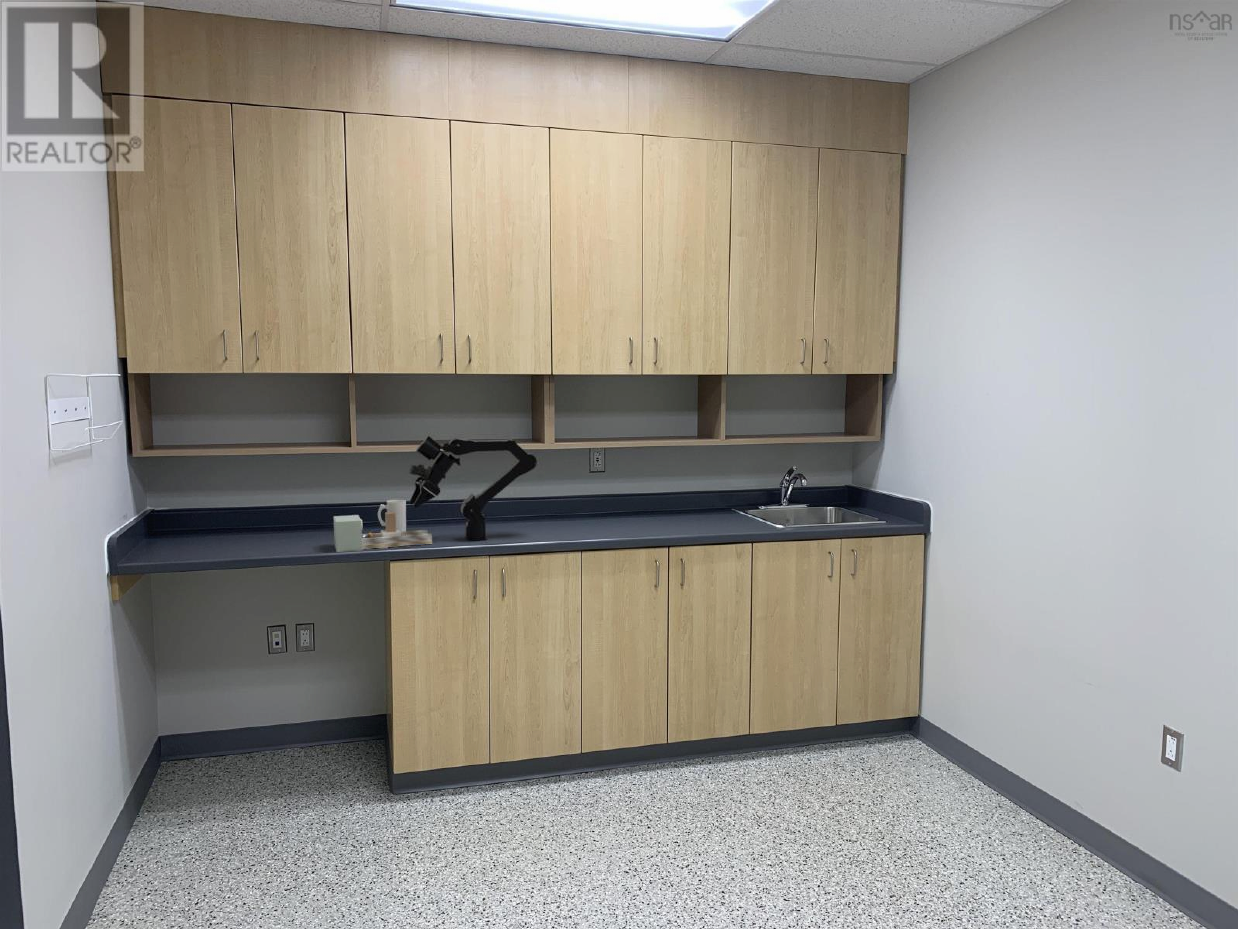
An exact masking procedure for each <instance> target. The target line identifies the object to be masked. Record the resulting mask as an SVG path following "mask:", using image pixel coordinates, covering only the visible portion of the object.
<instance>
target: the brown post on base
mask: <svg viewBox="0 0 1238 929" xmlns="http://www.w3.org/2000/svg"><path fill="white" fill-rule="evenodd" d="M384 515H385V519H384V520H385V522H386V526H385V530H380V533H381V537H391V536H401V532H400V530H399V529H397V530H396V515H395V512H387V511H386V512H385V513H384Z"/></svg>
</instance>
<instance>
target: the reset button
mask: <svg viewBox="0 0 1238 929" xmlns="http://www.w3.org/2000/svg"><path fill="white" fill-rule="evenodd" d="M372 533H373V532H368V533H366V534H367V535H362V538H373V534H372Z"/></svg>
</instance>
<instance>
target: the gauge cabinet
mask: <svg viewBox="0 0 1238 929" xmlns="http://www.w3.org/2000/svg"><path fill="white" fill-rule="evenodd" d="M362 531H363V519H361V518H360V515H359V514H352V515H337V516H336V515H335V516H333V533H334V534H333V539H334V540H333V541H334V542H333V543H334V548H335V551H336V553H345V552H358V551H361V552H362V551H363V550H362V534H363V532H362Z"/></svg>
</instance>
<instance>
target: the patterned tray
mask: <svg viewBox="0 0 1238 929" xmlns="http://www.w3.org/2000/svg"><path fill="white" fill-rule="evenodd" d="M371 533H372V534H373V538H362V550H361V551H364V550H363V549H367V550H373V549H372V548H380V549H389V548H388V547H394V548H397V547H396V546H404V545H414V544H432V545H433V534H432V533H429V530H428V529H420V530H419V529H418V530H406V531H402V532H401V536H391V537H381V532H376V533H373V532H371ZM367 534H368V533H362V535H367Z"/></svg>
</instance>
